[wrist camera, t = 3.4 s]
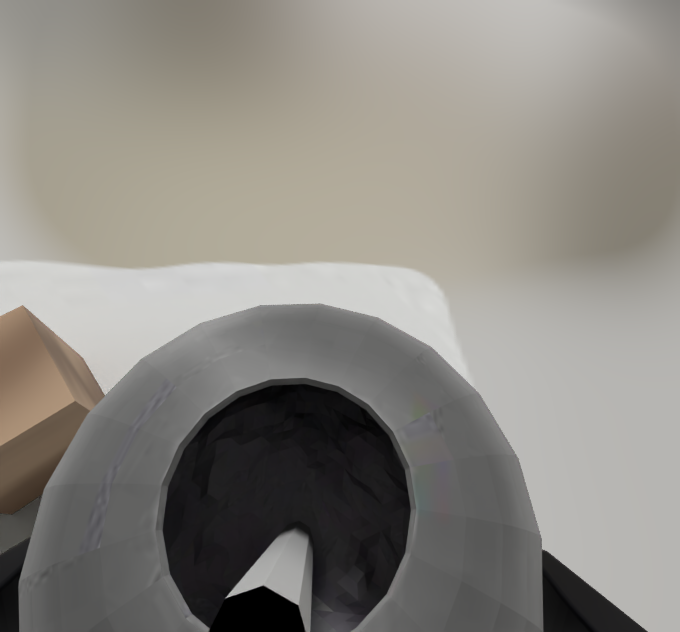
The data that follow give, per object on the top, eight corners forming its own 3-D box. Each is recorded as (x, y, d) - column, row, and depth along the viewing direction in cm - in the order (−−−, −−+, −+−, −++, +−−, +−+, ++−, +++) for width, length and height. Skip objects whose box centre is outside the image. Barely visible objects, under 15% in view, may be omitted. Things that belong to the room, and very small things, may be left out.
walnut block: (129, 436, 18) (75, 401, 14) (12, 514, 17) (-91, 500, 12) (83, 358, 20) (22, 305, 16) (-27, 420, 18) (-130, 379, 14)
